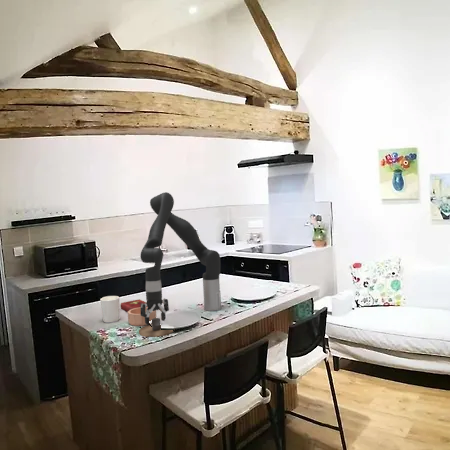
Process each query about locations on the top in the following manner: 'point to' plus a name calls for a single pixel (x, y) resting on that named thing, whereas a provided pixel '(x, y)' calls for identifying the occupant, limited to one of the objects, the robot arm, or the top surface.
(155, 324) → the lid
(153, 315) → the bowl
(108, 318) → the candle holder
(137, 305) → the hardcover book
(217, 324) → the top surface
